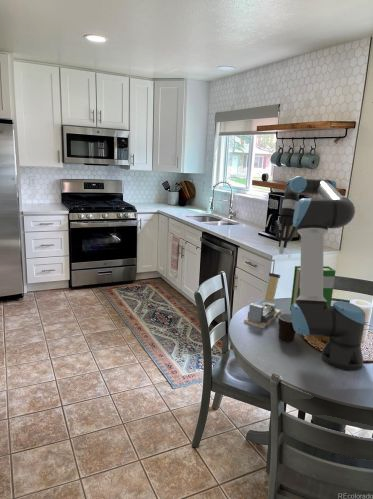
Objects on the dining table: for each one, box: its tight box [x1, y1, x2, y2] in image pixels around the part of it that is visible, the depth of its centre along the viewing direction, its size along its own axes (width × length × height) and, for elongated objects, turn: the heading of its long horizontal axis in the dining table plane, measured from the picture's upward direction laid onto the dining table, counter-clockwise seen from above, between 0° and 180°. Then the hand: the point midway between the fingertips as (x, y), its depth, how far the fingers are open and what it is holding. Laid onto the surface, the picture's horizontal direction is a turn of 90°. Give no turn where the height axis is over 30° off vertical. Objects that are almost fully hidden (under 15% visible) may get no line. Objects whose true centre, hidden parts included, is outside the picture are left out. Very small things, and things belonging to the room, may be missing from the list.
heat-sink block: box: [247, 301, 277, 324], centre depth 186 cm, size 19×9×8 cm, turn 147°
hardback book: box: [289, 265, 336, 312], centre depth 193 cm, size 18×7×24 cm, turn 95°
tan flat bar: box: [264, 272, 281, 303], centre depth 193 cm, size 2×5×14 cm, turn 57°
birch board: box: [243, 308, 282, 329], centre depth 188 cm, size 22×10×2 cm, turn 147°
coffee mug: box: [277, 313, 297, 343], centre depth 168 cm, size 12×9×10 cm
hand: (281, 253), depth 197 cm, fingers closed
